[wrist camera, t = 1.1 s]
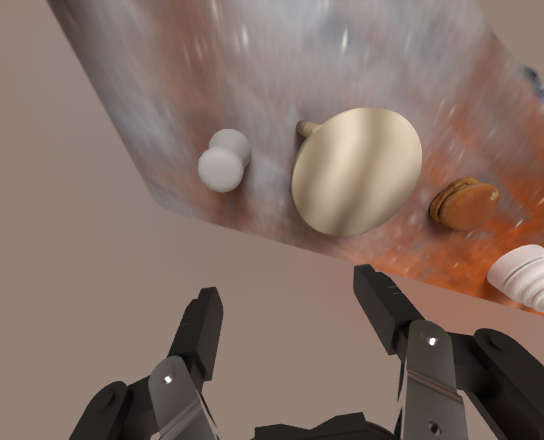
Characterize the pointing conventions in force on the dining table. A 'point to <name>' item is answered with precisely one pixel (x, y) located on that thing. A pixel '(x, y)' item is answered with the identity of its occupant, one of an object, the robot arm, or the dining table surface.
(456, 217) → the burger
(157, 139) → the dining table surface
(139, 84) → the dining table surface
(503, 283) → the honey pot
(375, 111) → the stool
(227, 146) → the salt shaker
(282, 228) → the dining table surface
